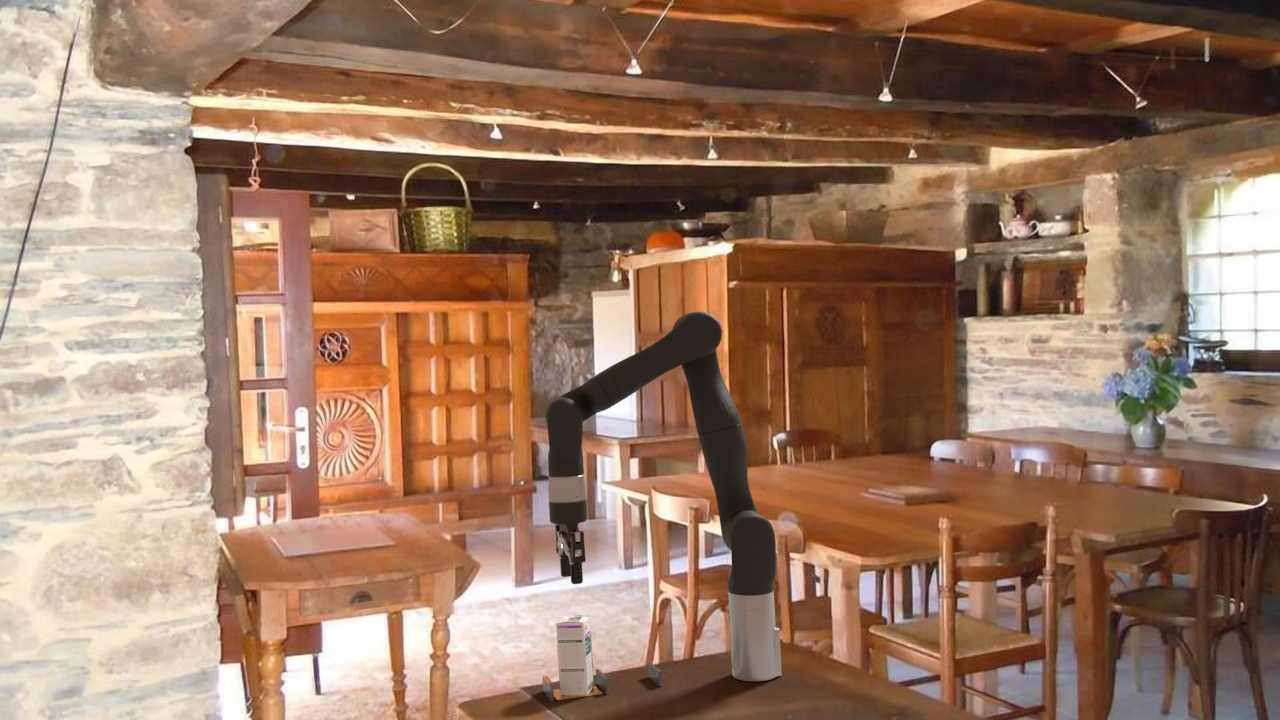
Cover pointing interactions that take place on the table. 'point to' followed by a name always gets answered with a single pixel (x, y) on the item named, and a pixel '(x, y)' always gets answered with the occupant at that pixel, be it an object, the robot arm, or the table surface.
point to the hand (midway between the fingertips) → (571, 579)
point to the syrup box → (575, 655)
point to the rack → (600, 681)
